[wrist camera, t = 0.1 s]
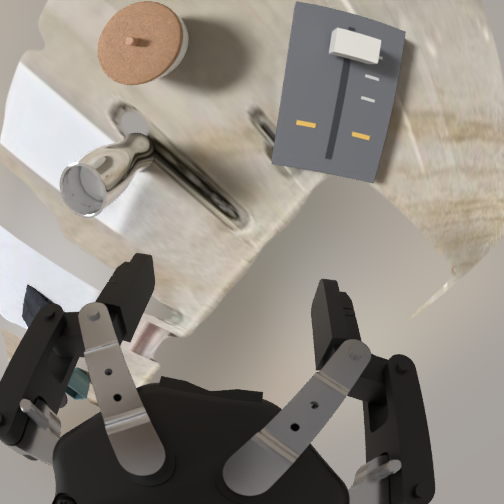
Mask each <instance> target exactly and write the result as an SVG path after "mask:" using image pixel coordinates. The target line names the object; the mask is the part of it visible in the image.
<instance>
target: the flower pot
mask: <svg viewBox="0 0 504 504" xmlns="http://www.w3.org/2000/svg"><path fill="white" fill-rule="evenodd" d="M88 390H89V377H88V375H87V374H85V373H84V372H83V371H82V370H80V369H79V368H75V369H74V371H73V373H72V376H71V378H70V381H69V383H68V386H67V389H66V391H65V392H66V393H67V394H68V395H70V396H71V397H72V398H74V399H75V400H79V399H86V398H87V394H88Z"/></svg>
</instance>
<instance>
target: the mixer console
mask: <svg viewBox="0 0 504 504" xmlns="http://www.w3.org/2000/svg"><path fill="white" fill-rule="evenodd" d="M336 28H341V29H345V30H349V31H353V32H356V33H360V34H363V35H366V36H370V37H373V38H376V39H379V40H381V47H380V53H379V59H378V64H366V63H363V62H359V61H356V60H352V59H348V58H344V57H340V56H336V55H332V54H329V48H330V42H331V35H332V31H334V30H335V29H336ZM404 40H405V31H402V30H400V29H397V28H394V27H392V26H389V25H386V24H383V23H380V22H377V21H374V20H371V19H368V18H365V17H362V16H358V15H355V14H351V13H347V12H344V11H340V10H336V9H332V8H327V7H323V6H318V5H313V4H308V3H302V2H296V4H295V8H294V15H293V22H292V29H291V35H290V42H289V49H288V56H287V63H286V69H285V76H284V83H283V89H282V96H281V103H280V109H279V116H278V122H277V129H276V136H275V142H274V149H273V155H272V164H275V165H281V166H287V167H294V168H300V169H305V170H311V171H317V172H322V173H327V174H332V175H337V176H343V177H347V178H352V179H356V180H361V181H365V182H370V183H374V179H375V176H376V172H377V168H378V165H379V161H380V157H381V154H382V150H383V146H384V142H385V138H386V134H387V130H388V125H389V121H390V117H391V112H392V107H393V103H394V98H395V93H396V88H397V83H398V77H399V72H400V66H401V60H402V54H403V47H404Z"/></svg>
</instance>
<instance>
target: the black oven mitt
mask: <svg viewBox="0 0 504 504" xmlns="http://www.w3.org/2000/svg"><path fill="white" fill-rule="evenodd" d="M48 304H49V303H48V302H47V301H46V300H45V299H44V298H43V297H42V296H41V295H40V294H39V293H38V292H37V291H36V290H35V289H34V288H32V287H31V286H29V285H27V288H26V294H25V298H24V304H23V314H22V317H23V320H24V321H25V322H26V324H27V326H28V328H29V326H30V325H31V323H32V321H33V320H34V318H35V316H36V315H37V313H38V312H39V310H40V309H41V308H42V307H44V306H45V305H48Z"/></svg>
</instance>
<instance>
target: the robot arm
mask: <svg viewBox="0 0 504 504" xmlns="http://www.w3.org/2000/svg"><path fill="white" fill-rule="evenodd" d="M154 286H155V276H154V268H153V259H152V256H151V255H148V254H141V253H136V254H135V255H134V256H133V258H132V260H131V261H130V262H124V263H123V264H121V265H120V266H119V267H117V269H116V270H115V272H114V274H113V276H111V278H110V280H109V282H107V284H106V286H105V287H104V289H103V290H102V292H101V294H100V295H99V297H98V298H97V300H96V302H93V303H89V304H87V305H85V306H84V307H83V308H82V309H81V310H80V312H63V309H62V308H61V306H60V305H58V304H48V305H45V306H44V307H42V308H41V309H40V310H39V312H38V313H37V315H36V316H35V318H34V320H33V321H32V323H31V325H30V326H29V328H28V330H27V332H26V334H25V335H24V337H23V339H22V340H21V342H20V344H19V346H18V348H17V349H16V351H15V353H14V355H13V357H12V359H11V361H10V363H9V365H8V367H7V369H6V371H5V373H4V375H3V377H2V379H1V381H0V440H1V441H2V442H3V443H4V444H5V445H7V446H8V447H10V448H11V449H13V450H14V451H16V452H17V453H19V454H21V455H23V456H25V457H27V458H28V459H30V460H40V461H42V462H44V463H46V464H48V465H51V466H53V468H54V473H55V480H56V493H55V498H54V501H53V503H52V504H428V503H429V502H430V501H431V500H432V498H433V496H434V493H435V479H434V470H433V460H432V452H431V444H430V437H429V431H428V425H427V419H426V414H425V409H424V403H423V398H422V393H421V389H420V384H419V380H418V376H417V371H416V367H415V365H414V363H413V361H412V360H411V359H410V358H408V357H407V356H405V355H400V354H397V355H393V356H392V357H391V358H390V359H389V360H387V359H384V358H381V357H378V356H375V355H373V354H371V352H370V349H369V348H368V346H367V345H366V344H364V343H363V342H362V341H361V337H360V333H359V329H358V324H357V320H356V317H355V312H354V308H353V304H352V300H351V299H350V297H349V296H348V295H347V293H345V292H340V291H339V287H338V283H337V281H336V280H328V279H321V280H320V282H319V285H318V288H317V291H316V294H315V297H314V300H313V303H312V308H311V318H312V328H313V339H314V351H315V363H316V370H320V371H319V372H316V373H315V374H314V375H313V376H312V378H311V379H310V380H309V381H308V382H307V383H306V384H305V385H304V387H303V388H302V389H301V390H300V391H299V392H298V393H297V394H296V395H295V396H294V398H293V399H292V400H291V401H290V402H289V403H288V404H287V405H286V406H285V407H284V408H283V409H281V408H279V407H278V406H276V405H275V404H273V403H271V402H269V401H267V400H264V399H262V397H263V392H257V391H248V390H240V389H235V390H222V391H208V390H206V389H203V388H201V387H198V386H196V385H194V384H191V383H189V382H187V381H183V380H177V379H173V378H168V377H163V376H161V379H160V383H151V384H146V385H143V386H140V387H138V388H136V386H135V384H134V382H133V379H132V377H131V374H130V372H129V369H128V367H127V364H126V361H125V359H124V356H123V353H122V351H121V348H120V345H121V343H122V341H127V342H131V340H132V337H133V335H134V333H135V330H136V328H137V326H138V324H139V321H140V319H141V317H142V315H143V313H144V310H145V308H146V306H147V304H148V302H149V300H150V297H151V295H152V293H153V291H154ZM79 357H85V360H86V364H87V367H88V371H89V375H90V379H91V382H92V386H93V389H94V392H95V395H96V399H97V402H98V405H99V408H100V410H101V412H99V413H97V414H96V415H94V416H93V417H91V418H90V419H88V420H86V421H85V422H83V423H82V424H80V425H79V426H77V427H75V428H74V429H72V430H70V431H69V432H67V433H66V434H64V435H63V436H62V437H60V433H61V432H60V430H61V423H60V420H59V418H58V416H57V413H58V410H59V407H60V405H61V402H62V399H63V396H64V394H65V391H66V389H67V386H68V383H69V381H70V378H71V376H72V373H73V371H74V369H75V366H76V364H77V361H78V359H79ZM346 396H350V397H353V398H356V399H359V400H362V401H363V411H364V425H365V441H366V464H365V465H363V466H362V467H360V468H359V469H358V471H357V472H356V474H355V479H354V483H353V485H352V487H351V488H350V489H349V490H348V489H347V487H346V485H345V483H344V482H343V481H342V480H341V479H340V477H339V476H338V475H337V474H336V473H335V472H334V471H333V469H332V468H331V467H330V466H329V465H328V464H327V462H325V460H324V459H323V458H322V457H321V456H320V454H319V453H318V452H317V451H316V450H315V448H314V447H313V446H312V445H311V442H312V441H313V439H314V438H315V437H316V436H317V434H318V433H319V432H320V431H321V429H322V428H323V427H324V426H325V424H326V423H327V422H328V421H329V419H330V418H331V417H332V415H333V414H334V413H335V411H336V410H337V409H338V407H339V406H340V405H341V403H342V402H343V400H344V399H345V398H346Z"/></svg>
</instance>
